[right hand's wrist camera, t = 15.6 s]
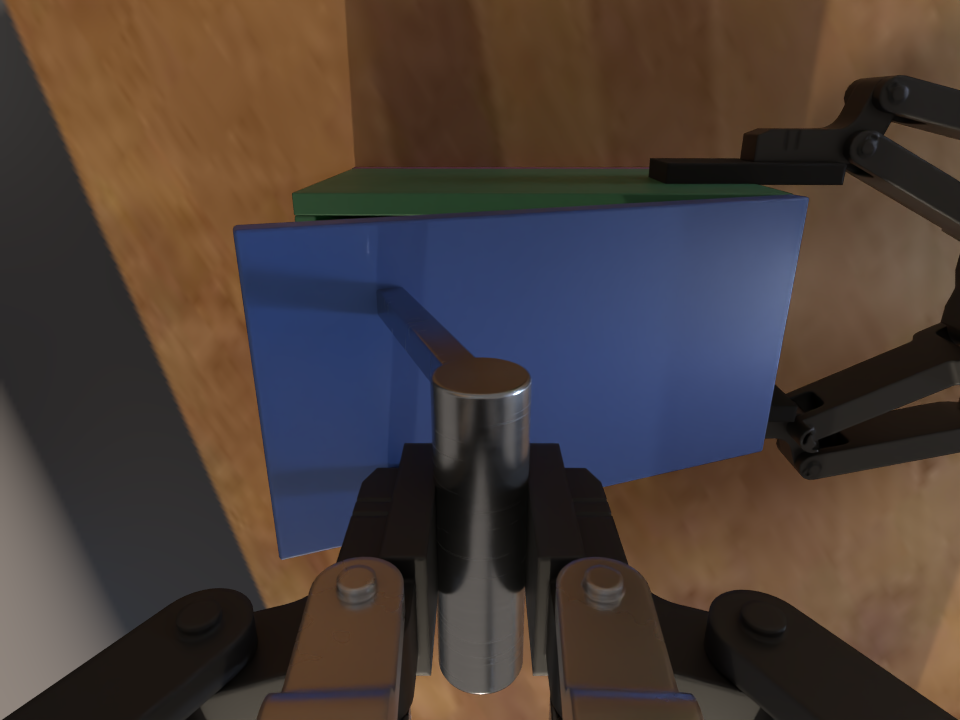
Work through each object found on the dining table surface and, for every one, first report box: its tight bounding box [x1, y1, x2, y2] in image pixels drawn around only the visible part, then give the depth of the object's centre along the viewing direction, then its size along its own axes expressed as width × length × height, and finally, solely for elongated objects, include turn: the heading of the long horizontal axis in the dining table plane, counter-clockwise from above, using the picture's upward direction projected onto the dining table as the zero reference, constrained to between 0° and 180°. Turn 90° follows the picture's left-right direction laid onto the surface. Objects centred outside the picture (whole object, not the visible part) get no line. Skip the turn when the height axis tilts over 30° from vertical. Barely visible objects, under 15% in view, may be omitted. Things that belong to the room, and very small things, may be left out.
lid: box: [233, 194, 809, 695], centre depth 16 cm, size 17×9×8 cm, turn 90°
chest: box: [292, 167, 793, 222], centre depth 27 cm, size 16×9×10 cm, turn 90°
